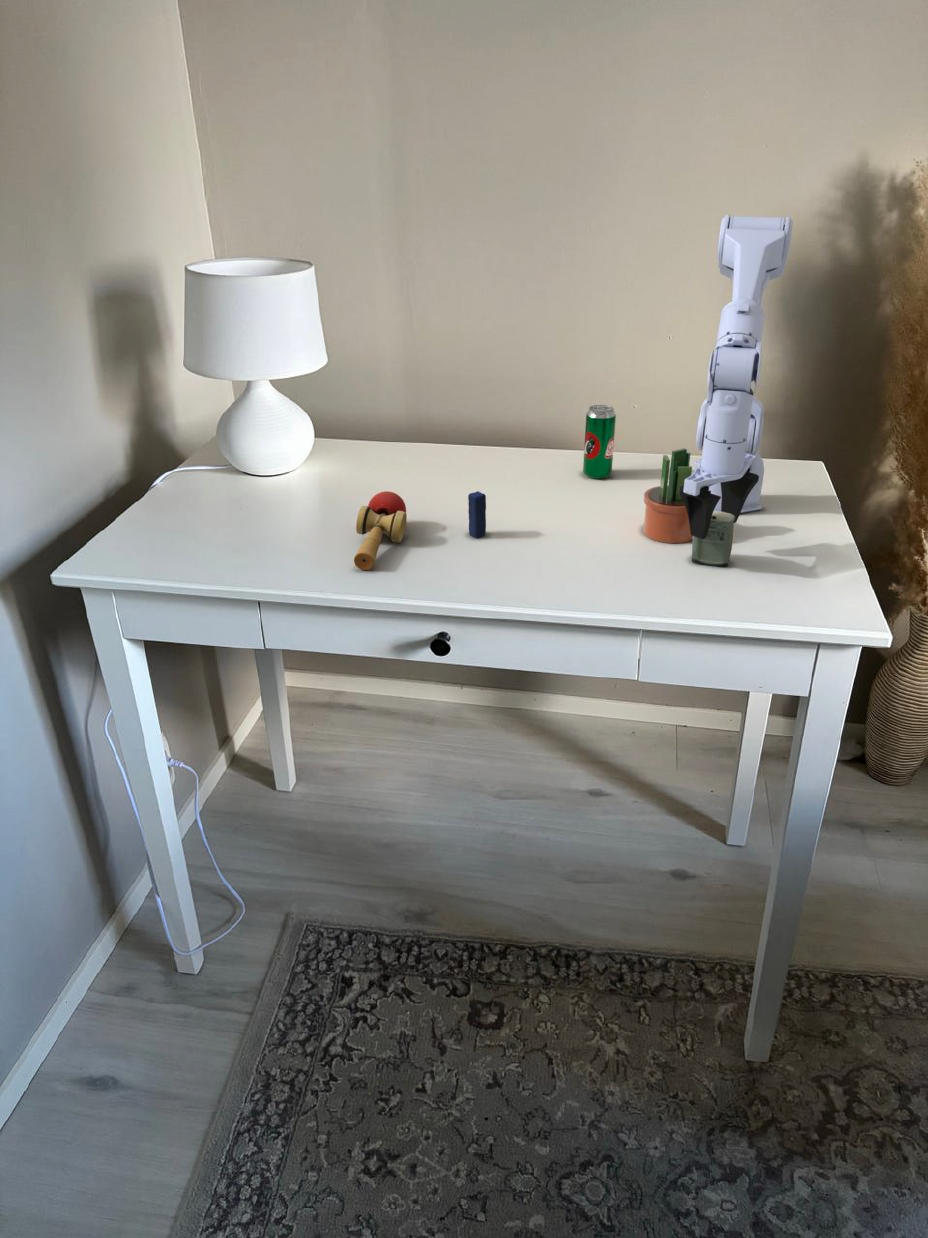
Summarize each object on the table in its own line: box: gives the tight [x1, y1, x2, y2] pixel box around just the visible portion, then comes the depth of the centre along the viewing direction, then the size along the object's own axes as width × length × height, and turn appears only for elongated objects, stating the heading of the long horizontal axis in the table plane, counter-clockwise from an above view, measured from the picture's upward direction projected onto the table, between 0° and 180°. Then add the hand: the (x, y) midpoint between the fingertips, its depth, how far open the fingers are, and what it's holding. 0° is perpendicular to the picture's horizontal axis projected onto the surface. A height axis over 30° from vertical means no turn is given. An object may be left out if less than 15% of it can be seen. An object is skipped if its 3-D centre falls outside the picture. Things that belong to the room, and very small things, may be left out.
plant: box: [642, 447, 693, 544], centre depth 147 cm, size 9×9×13 cm
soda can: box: [582, 404, 617, 480], centre depth 169 cm, size 5×5×12 cm
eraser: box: [467, 491, 487, 539], centre depth 148 cm, size 2×2×7 cm
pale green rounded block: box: [691, 511, 735, 568], centre depth 139 cm, size 6×5×8 cm
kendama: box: [353, 490, 407, 571], centre depth 146 cm, size 8×6×18 cm
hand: (713, 528), depth 139 cm, fingers open, 7 cm apart
